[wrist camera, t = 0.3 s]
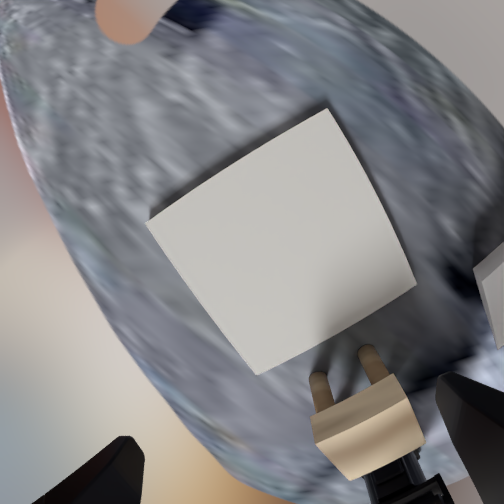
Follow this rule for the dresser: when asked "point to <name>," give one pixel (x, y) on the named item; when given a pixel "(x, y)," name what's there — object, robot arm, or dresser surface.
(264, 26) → the dresser surface
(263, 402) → the dresser surface
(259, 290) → the mat
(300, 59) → the dresser surface
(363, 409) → the tan pegged block
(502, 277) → the figurine
